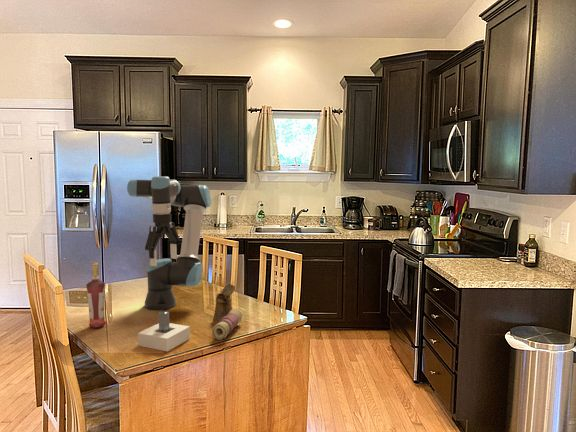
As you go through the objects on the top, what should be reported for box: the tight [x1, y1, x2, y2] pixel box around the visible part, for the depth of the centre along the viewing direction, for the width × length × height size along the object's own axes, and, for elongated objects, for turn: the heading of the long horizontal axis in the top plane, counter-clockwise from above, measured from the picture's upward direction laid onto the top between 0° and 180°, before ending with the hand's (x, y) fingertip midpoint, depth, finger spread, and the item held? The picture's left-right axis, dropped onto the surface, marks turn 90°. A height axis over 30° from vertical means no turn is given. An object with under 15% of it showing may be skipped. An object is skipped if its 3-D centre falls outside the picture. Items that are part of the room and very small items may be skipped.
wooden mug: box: [212, 284, 236, 322], centre depth 197 cm, size 9×14×18 cm, turn 29°
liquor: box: [86, 262, 107, 329], centre depth 187 cm, size 7×7×28 cm
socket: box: [137, 322, 191, 352], centre depth 171 cm, size 14×14×5 cm
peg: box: [158, 310, 170, 333], centre depth 171 cm, size 4×4×12 cm
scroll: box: [211, 308, 243, 340], centre depth 183 cm, size 8×8×20 cm
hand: (164, 262), depth 186 cm, fingers open, 13 cm apart
